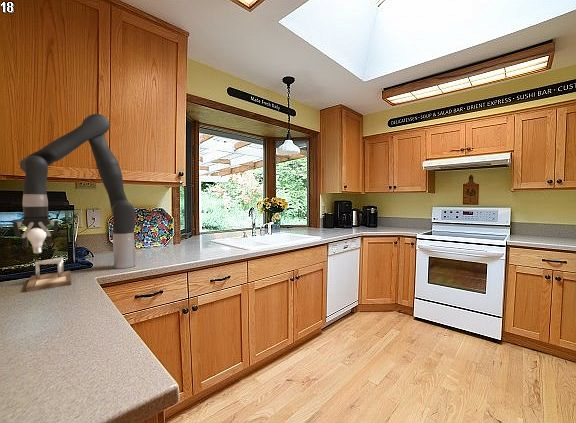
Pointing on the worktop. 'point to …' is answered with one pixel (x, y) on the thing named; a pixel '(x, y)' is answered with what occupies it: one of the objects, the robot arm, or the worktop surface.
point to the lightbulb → (36, 239)
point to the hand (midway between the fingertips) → (37, 246)
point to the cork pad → (50, 281)
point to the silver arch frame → (50, 261)
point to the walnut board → (33, 279)
